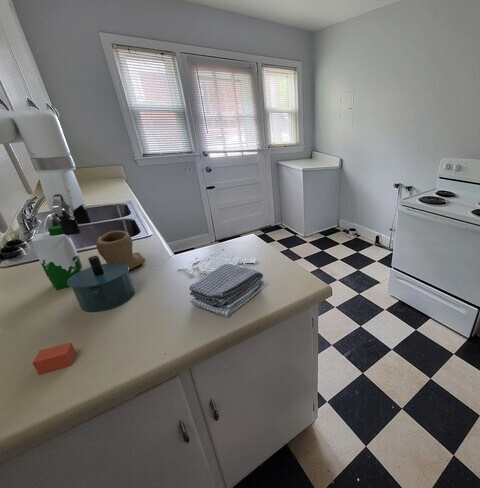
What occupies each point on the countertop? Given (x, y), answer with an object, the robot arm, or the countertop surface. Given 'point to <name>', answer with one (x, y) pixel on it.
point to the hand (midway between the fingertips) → (78, 228)
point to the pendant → (218, 262)
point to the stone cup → (118, 249)
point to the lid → (97, 274)
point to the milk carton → (57, 256)
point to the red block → (54, 358)
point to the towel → (226, 289)
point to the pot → (105, 295)
